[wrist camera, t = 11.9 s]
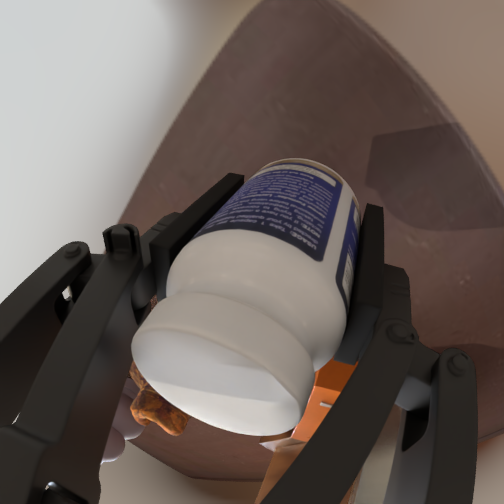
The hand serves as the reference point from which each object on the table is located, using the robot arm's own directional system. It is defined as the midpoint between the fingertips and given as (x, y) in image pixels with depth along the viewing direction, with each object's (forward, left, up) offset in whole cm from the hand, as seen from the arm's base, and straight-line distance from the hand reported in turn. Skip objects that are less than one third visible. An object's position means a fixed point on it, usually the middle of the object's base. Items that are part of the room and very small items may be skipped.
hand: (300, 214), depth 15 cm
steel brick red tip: (-9, +13, +1) cm, 16 cm away
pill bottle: (0, 0, 0) cm, 0 cm away
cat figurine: (+18, +32, -2) cm, 37 cm away
